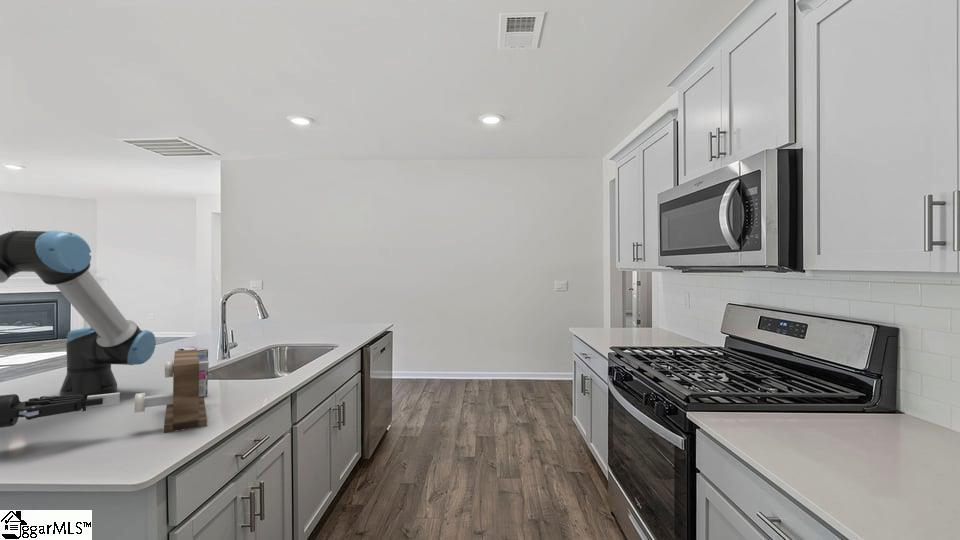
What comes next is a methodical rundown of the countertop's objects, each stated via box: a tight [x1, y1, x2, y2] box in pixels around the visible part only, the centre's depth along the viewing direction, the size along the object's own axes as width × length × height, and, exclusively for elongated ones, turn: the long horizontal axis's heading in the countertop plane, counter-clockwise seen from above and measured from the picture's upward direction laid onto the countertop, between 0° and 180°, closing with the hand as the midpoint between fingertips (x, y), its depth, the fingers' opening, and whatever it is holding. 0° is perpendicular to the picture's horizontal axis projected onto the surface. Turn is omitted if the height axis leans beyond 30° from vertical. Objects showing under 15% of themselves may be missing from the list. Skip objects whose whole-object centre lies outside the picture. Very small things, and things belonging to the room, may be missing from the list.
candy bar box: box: [177, 346, 209, 398], centre depth 156 cm, size 11×5×16 cm, turn 58°
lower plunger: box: [134, 392, 173, 414], centre depth 125 cm, size 5×12×5 cm, turn 123°
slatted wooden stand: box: [163, 349, 208, 433], centre depth 135 cm, size 24×10×18 cm, turn 33°
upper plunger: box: [164, 360, 210, 378], centre depth 143 cm, size 5×12×5 cm, turn 123°
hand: (119, 398), depth 120 cm, fingers closed
